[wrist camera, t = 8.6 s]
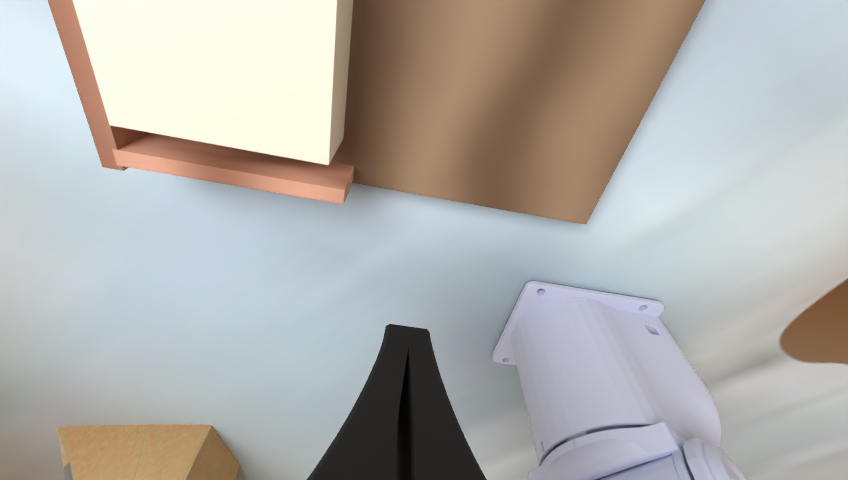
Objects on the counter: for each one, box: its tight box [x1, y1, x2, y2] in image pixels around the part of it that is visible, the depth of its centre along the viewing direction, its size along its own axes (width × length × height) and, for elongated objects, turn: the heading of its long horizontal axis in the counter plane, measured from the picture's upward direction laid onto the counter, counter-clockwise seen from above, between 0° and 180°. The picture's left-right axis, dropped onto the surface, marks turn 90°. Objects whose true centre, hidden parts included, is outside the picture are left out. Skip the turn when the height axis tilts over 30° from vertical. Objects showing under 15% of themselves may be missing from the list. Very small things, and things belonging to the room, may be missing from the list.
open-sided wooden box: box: [48, 0, 705, 224], centre depth 15 cm, size 22×12×4 cm, turn 79°
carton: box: [73, 0, 353, 165], centre depth 13 cm, size 8×7×3 cm
